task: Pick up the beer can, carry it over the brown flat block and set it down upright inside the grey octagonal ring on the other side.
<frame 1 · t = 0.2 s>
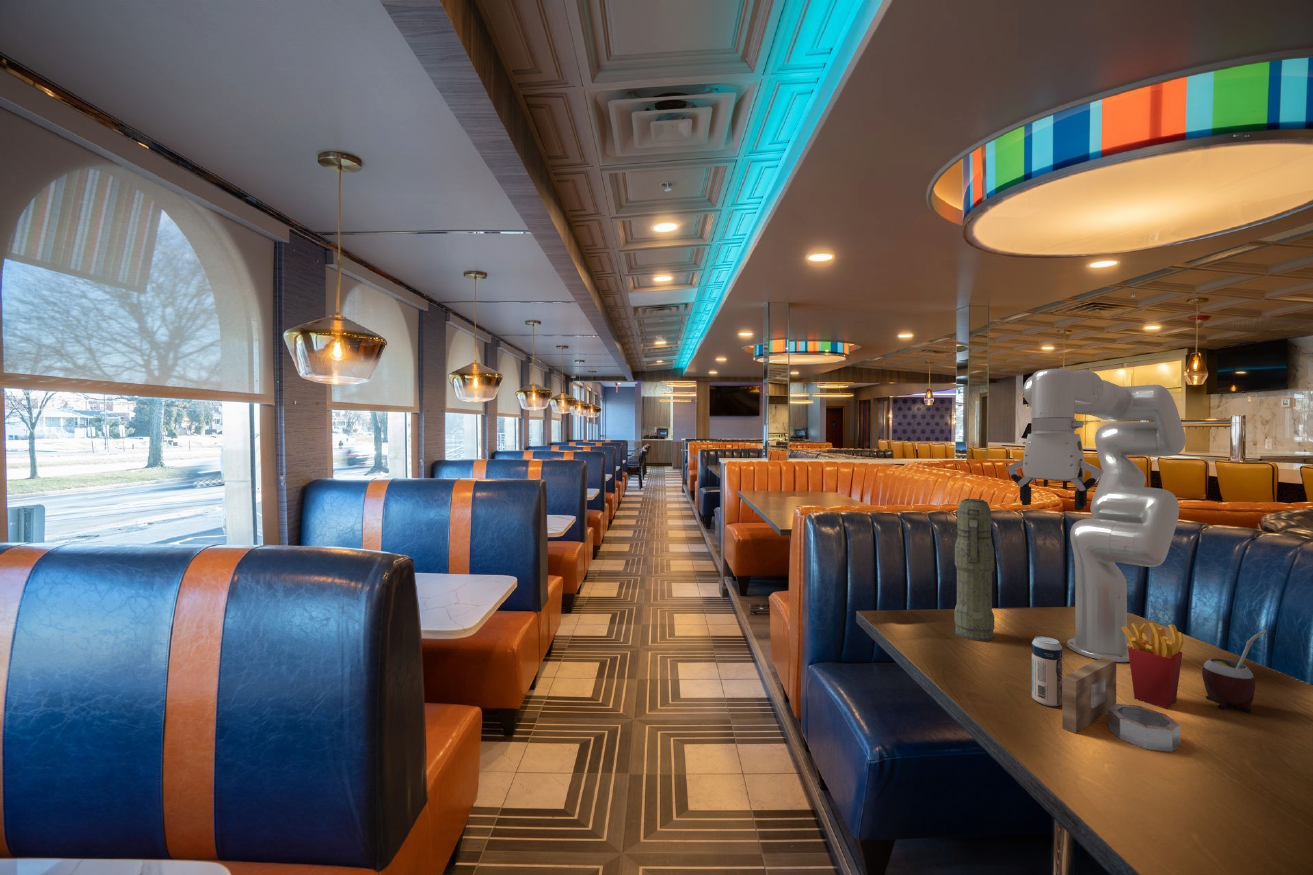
hand: (1052, 507, 117), 36 cm above the table, tool pointing down, fingers open, 9 cm apart
mate gourd: (1230, 706, 104), on the table
beer can: (1046, 703, 106), on the table
french fries: (1151, 698, 107), on the table
thermos: (974, 635, 142), on the table
brown flat block: (1090, 717, 100), on the table
grey octagonal ring: (1142, 736, 93), on the table
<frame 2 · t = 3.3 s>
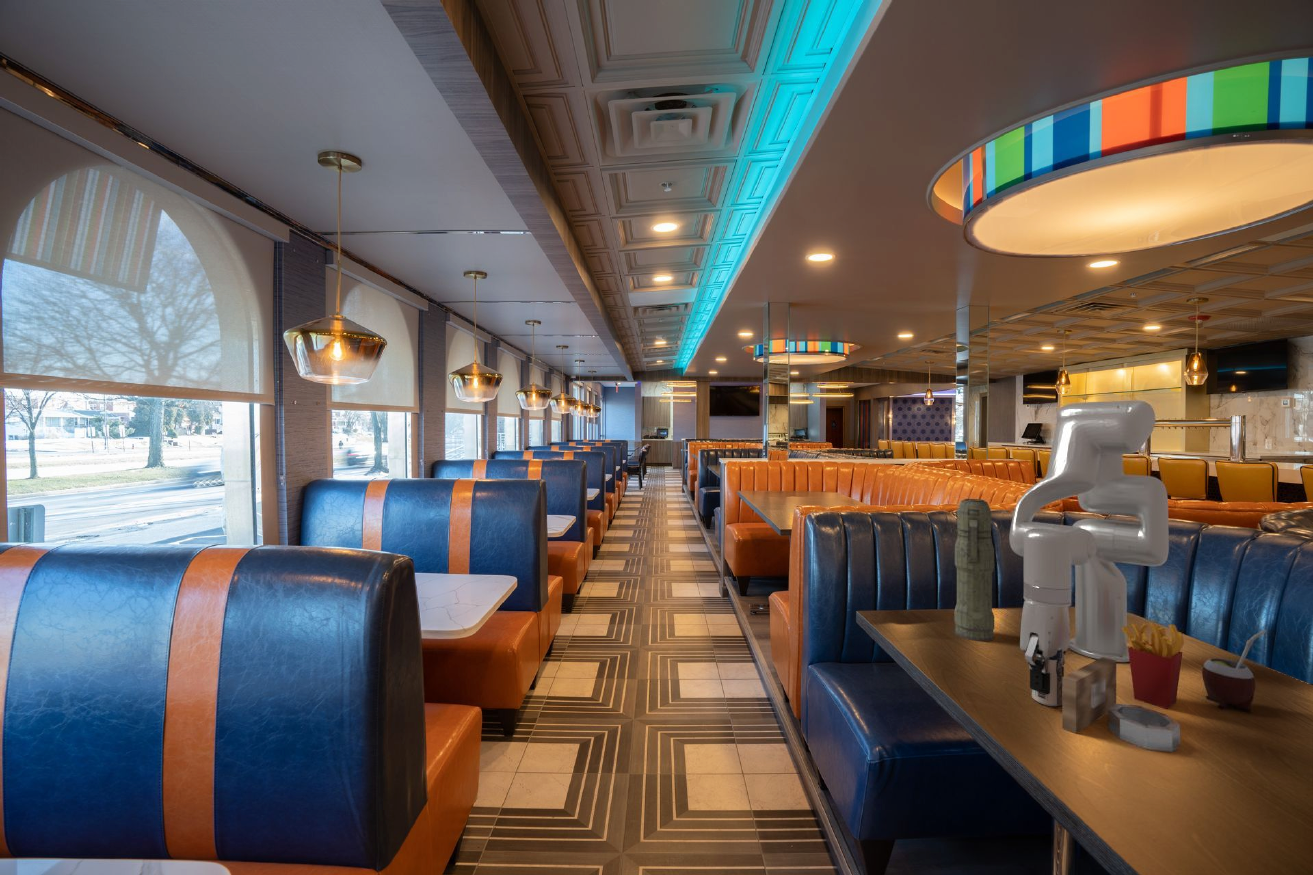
hand: (1046, 686, 106), 3 cm above the table, tool pointing down, fingers closed on beer can, 4 cm apart
beer can: (1046, 702, 106), on the table, touching gripper
everything else where it was.
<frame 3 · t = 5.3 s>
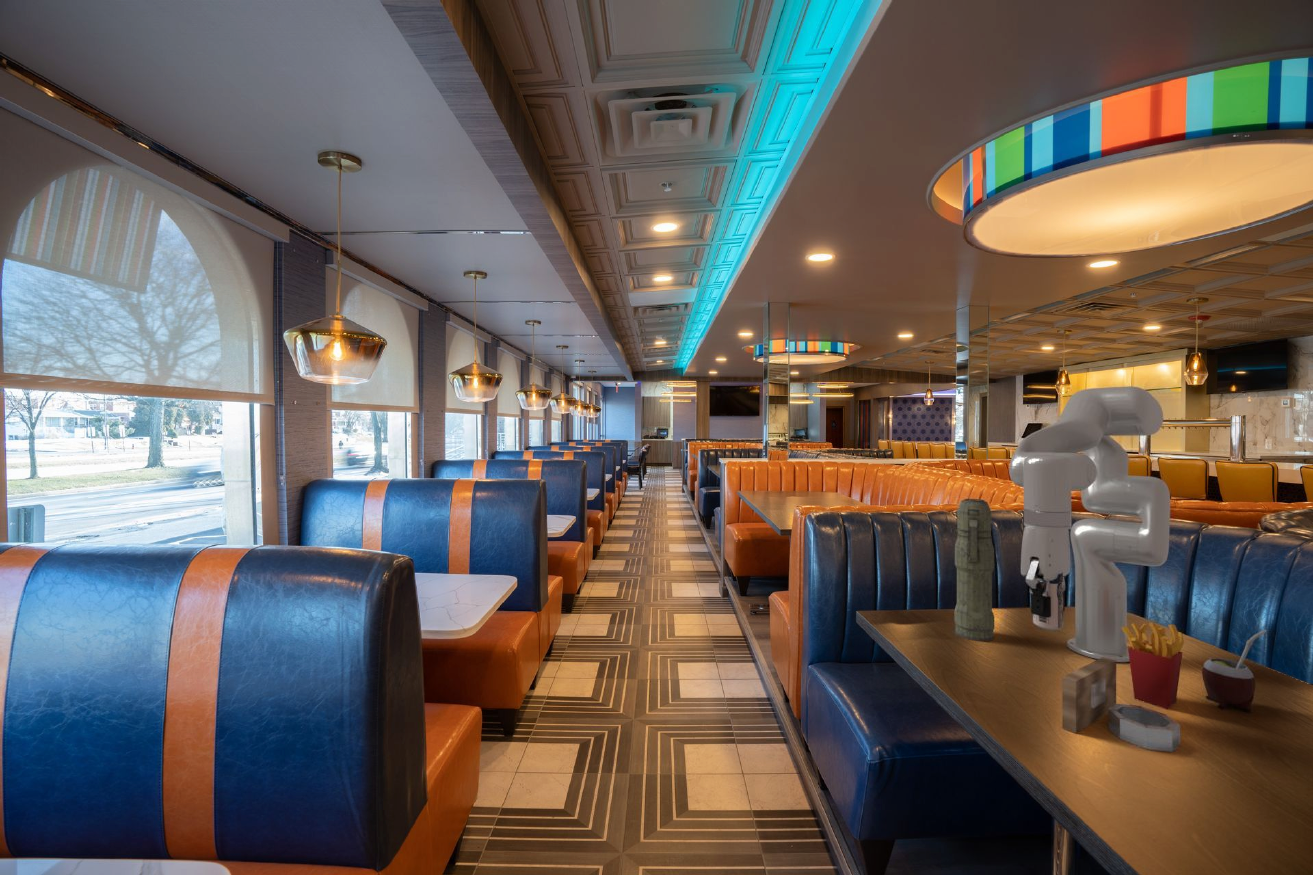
hand: (1047, 611, 106), 17 cm above the table, tool pointing down, fingers closed on beer can, 4 cm apart
beer can: (1048, 627, 106), point 14 cm above the table, touching gripper
everything else where it was.
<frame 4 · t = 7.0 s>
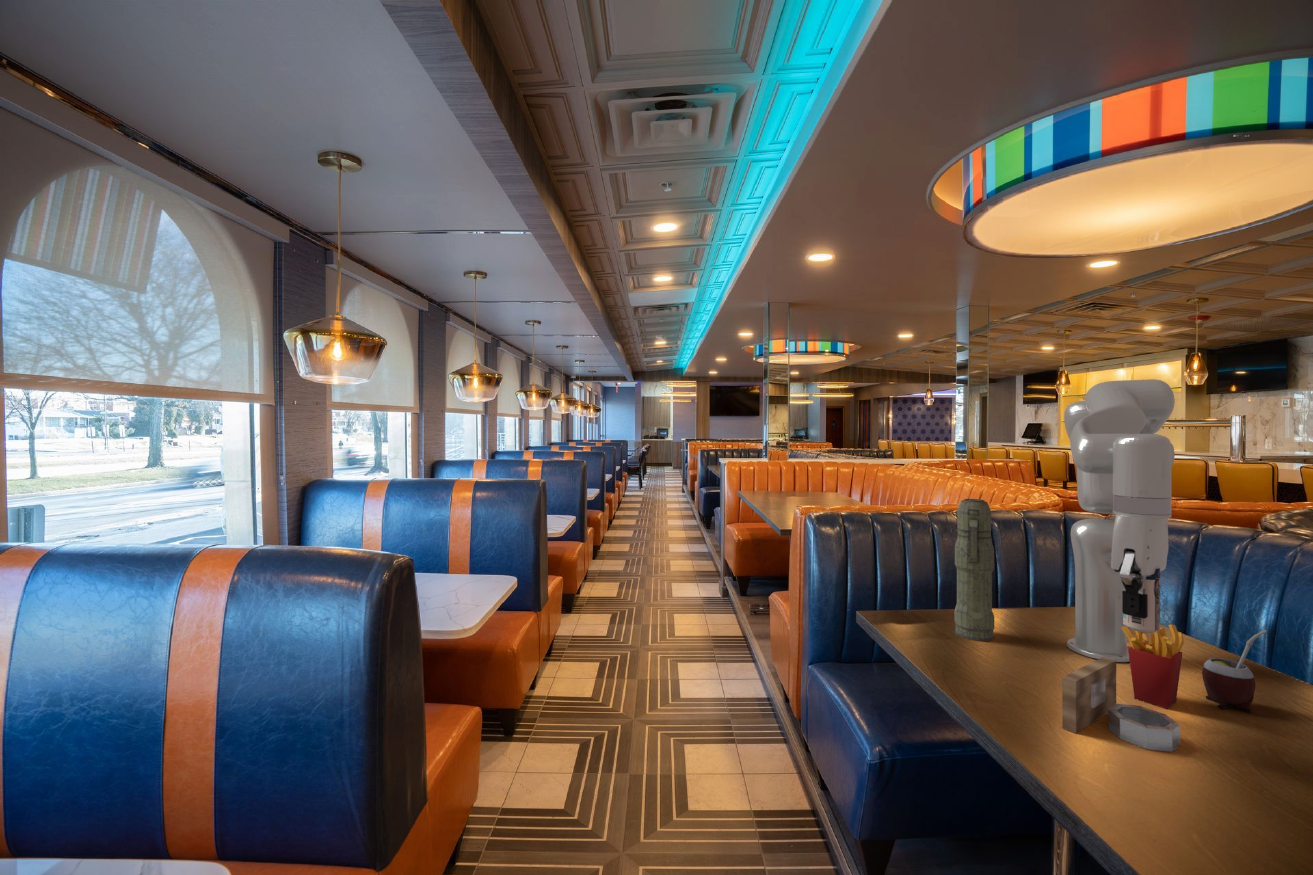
hand: (1141, 612, 94), 21 cm above the table, tool pointing down, fingers closed on beer can, 4 cm apart
beer can: (1141, 630, 94), point 18 cm above the table, touching gripper
everything else where it was.
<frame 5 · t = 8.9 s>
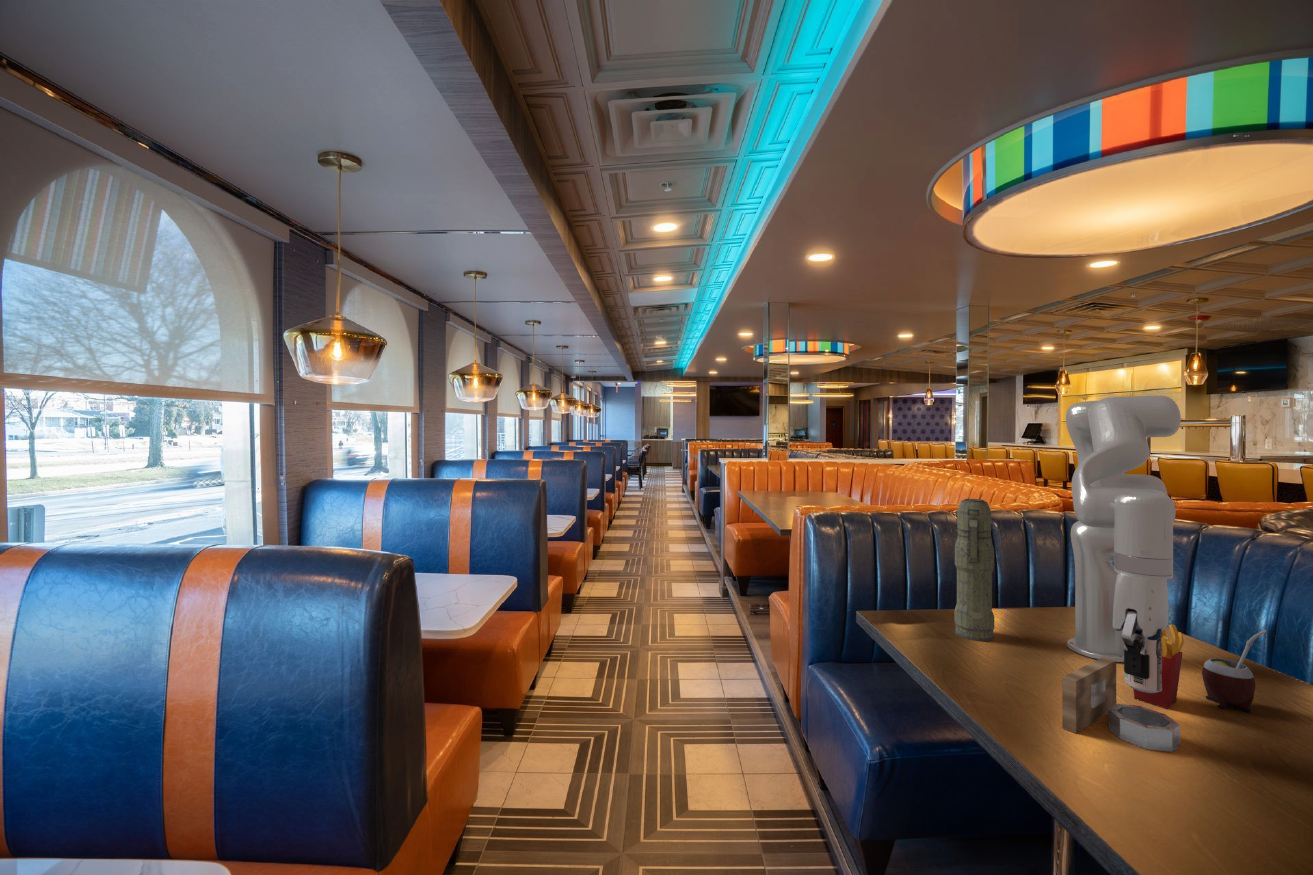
hand: (1143, 671, 93), 11 cm above the table, tool pointing down, fingers closed on beer can, 4 cm apart
beer can: (1143, 689, 93), point 8 cm above the table, touching gripper
everything else where it was.
when the fingers open (5 cm above the table, at t = 10.5 s): beer can drops 2 cm, resting in grey octagonal ring.
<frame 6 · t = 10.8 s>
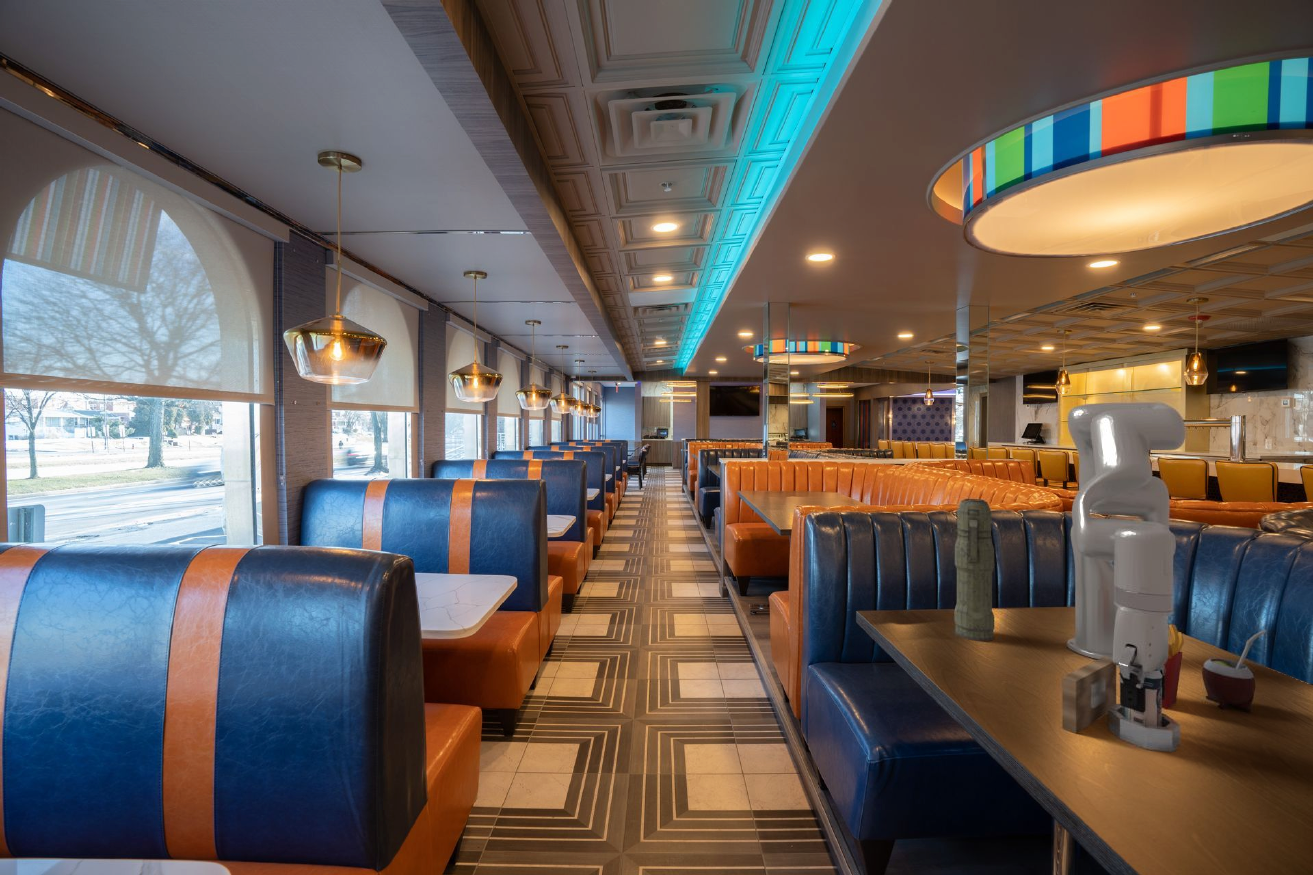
hand: (1142, 701, 93), 6 cm above the table, tool pointing down, fingers open, 8 cm apart
beer can: (1142, 737, 94), resting in grey octagonal ring
everything else where it was.
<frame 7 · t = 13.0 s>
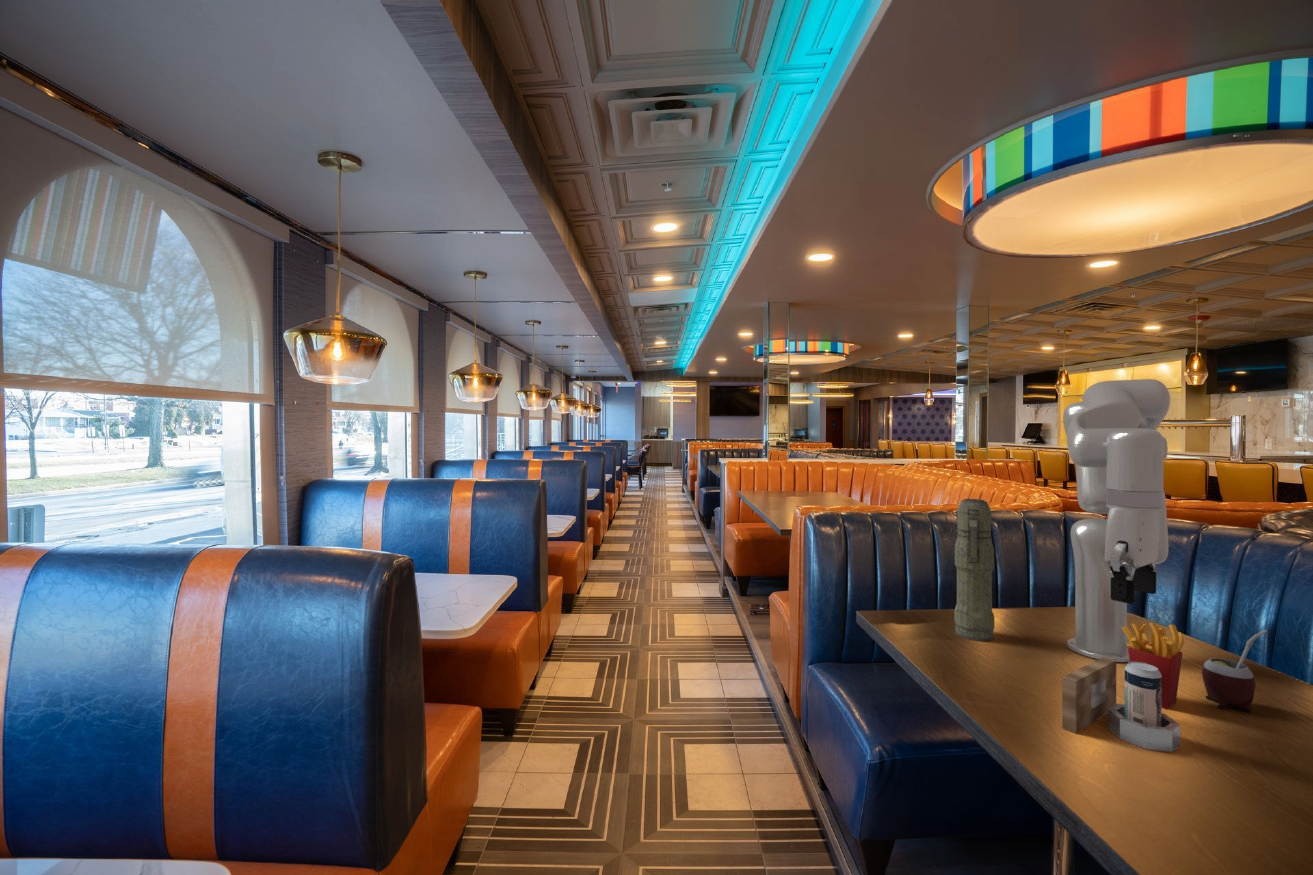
hand: (1133, 596, 96), 23 cm above the table, tool pointing down, fingers open, 9 cm apart
nothing on the table moved.
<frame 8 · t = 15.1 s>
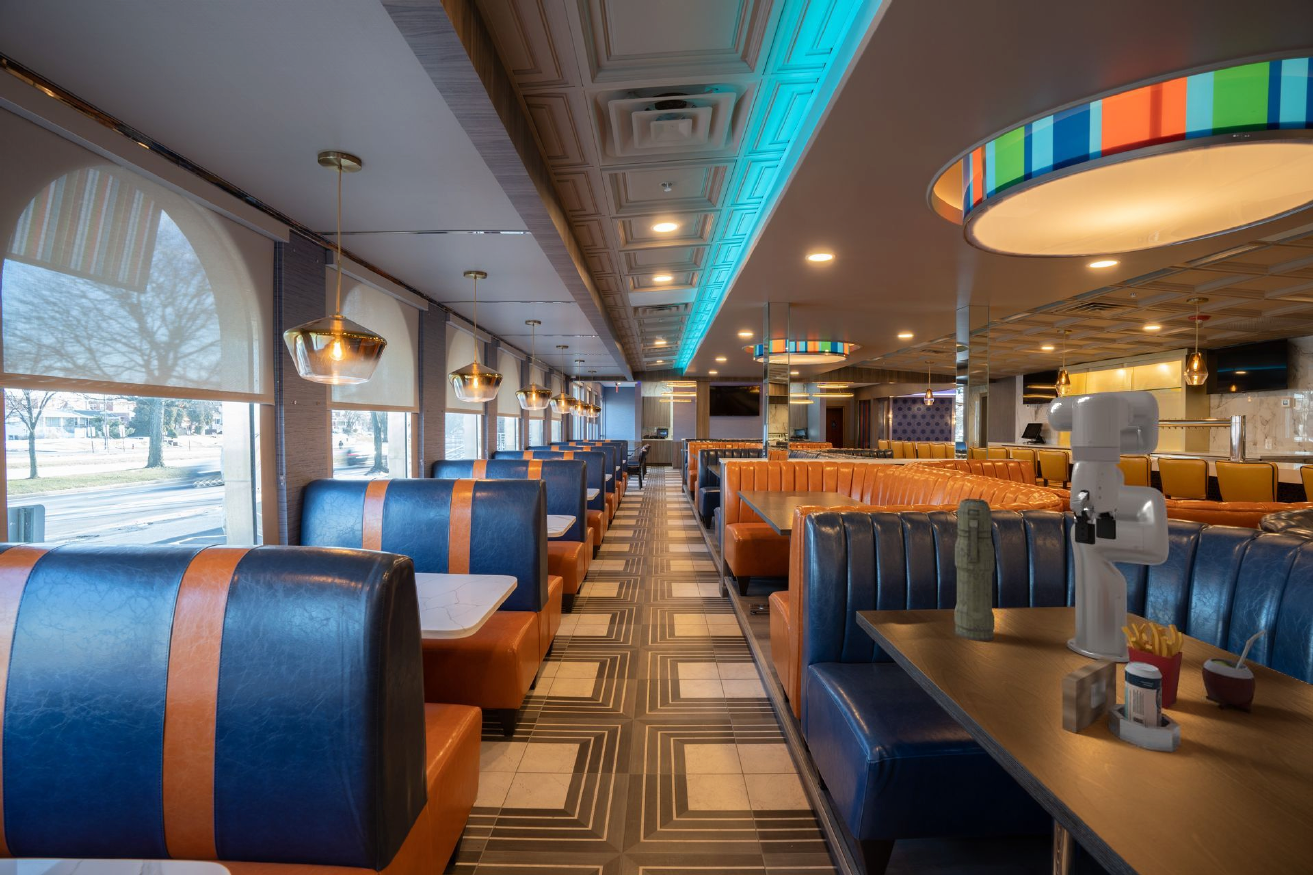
hand: (1095, 540, 110), 30 cm above the table, tool pointing down, fingers open, 9 cm apart
nothing on the table moved.
at the end: beer can 0.3 cm off-centre on the grey octagonal ring, point 0.0 cm above the grey octagonal ring's base; beer can tilted 0°; the gripper is holding nothing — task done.
